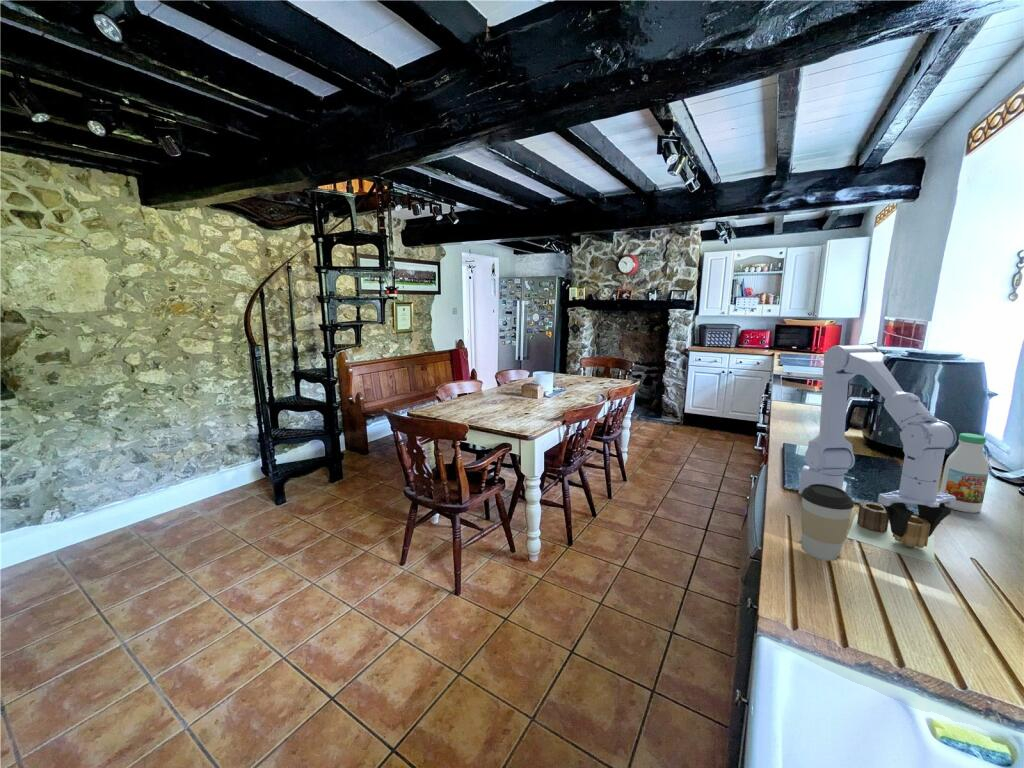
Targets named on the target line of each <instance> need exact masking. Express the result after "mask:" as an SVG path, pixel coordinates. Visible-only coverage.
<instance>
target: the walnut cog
mask: <svg viewBox="0 0 1024 768" xmlns="http://www.w3.org/2000/svg"><path fill="white" fill-rule="evenodd" d="M857 523H858V524H859V526H860V527H862V528H865V529H868V530H870V531H876V532H880V533H883V532H884V531H887V528H888V523H890V521H889V517H888V515H887V512H886V510H885V508H884V506H883V505H882V504H880V503H875V502H868V501H863V502H860V503H859V507H858V520H857Z"/></svg>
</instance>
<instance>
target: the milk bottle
mask: <svg viewBox="0 0 1024 768" xmlns="http://www.w3.org/2000/svg"><path fill="white" fill-rule="evenodd" d="M986 442H987V438H986V437H985V436H983V435H981V434H976V433H969V432H962V433H960V434H958V446H957V447H956V448H955V450H953V452H952V453H950V455H949V456H948V457H947V459H946V461H945V464H944V469H943V475H942V479H941V483H940V484H941V485H940V489H939V493H947V494H950V495H952V496H954V497H956V501H955V505H948V504H945V507H947V508H950V509H951V510H955V511H959V512H964V513H971V514H973V513H976V514H977V513H980V511H981V510H982V507H983V503H984V498H985V495H986V493H985V492H986V489H987V484H988V478H989V472H990V470H989V469H990V467H989V463H988V462H989V461H988V460H987V457H986V455H985V453H984V446H986V445H985V444H986Z"/></svg>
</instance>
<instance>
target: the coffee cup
mask: <svg viewBox="0 0 1024 768" xmlns="http://www.w3.org/2000/svg"><path fill="white" fill-rule="evenodd" d="M800 495H801V497H802V498H801V499H802V500H801V503H800V504H801V505H800V506H801V507H800V515H801V517H800V522H801V523H800V528H801V529H800V530H801V549H802V550H803V552H804V553H806V554H808V555H809V556H811V557H813V558H815V559H817V560H823V561H831V562H833V561H838V560H839V559H840V554H841V552H842V547H843V544H844V542H845V540H846V539H845V538H846V537H847V533H848V528H849V525H850V522H851V514H852V513H851V512H852V509H853V508H854V506H855V505H854V503H853V499H852V498H851V497H850V496H849V495H848V493H847V491H845V490H843V488H842V489H839V488H837V487H834V486H830V485H825V484H812V485H809V486H808V487H806V488H804V489H803V492H802V493H801V494H800Z"/></svg>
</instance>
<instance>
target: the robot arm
mask: <svg viewBox="0 0 1024 768" xmlns="http://www.w3.org/2000/svg"><path fill="white" fill-rule="evenodd" d="M857 375H861V376H863V377H865V379H866V380H867V381H868V382H869V383H870V384H871V385H872V386H873V387H874V388H875V389H876V390H877V392H878V393H880V395H881V396H882V397H883V398H884V399H885V400H884V403H883V407H884V409H885V410H886V412H887V413H889V415H890V417H891V418H892V419H893V420H894V422H895V423H896V424H897V425H898V427H899V428H900V429H901V431H899V438H900V441H901V443H902V445H903V448H902V452H903V453H904V457H903V458H904V459H903V463H902V464H903V465H902V470H901V471H902V472H901V478H900V483H899V489H898V490H895V491H893V490H892V491H889V492H885V493H879V494H878V498H877V502H878V504H880V505H882V506H884V508H885V510H886V512H887V515H888V517H889V523H890V526H891V532H892V533H894V534H895V535H897V536H899V537H903V535H904V533H905V530H906V526H907V523H908V521H909V519H910V517H911V516H912V515H914V514H915V512H914V511H913V510H910V509H908V507H907V506H906V505H917V510H918V517H919V518H921V519H925V520H927V521H928V523H930V524H931V526H930V532H929V537H930V536H931V534H933V533H934V531H935V530H936V528H937V526H938V525H939V524H940V523H941V521H943V520H944V519H945V518H946V517H948V516H950V515H951V513H952V509H951V508H949V507H946V506H945V504H948V505H955V501H956V497H954V496H952V495H950V494H947V493H940V492H939V485H940V481H941V480H940V479H941V476H942V470H943V464H944V459H945V454H946V449H947V450H948V449H950V448H951V447H954V445H955V443H956V441H957V433H956V431H955V429H954V427H953V426H952V424H950V423H949V422H947V421H943V420H940V419H939V418H937V417H935V416H934V415H933V414H932V413H931V412H930V411H929V410H928V408H926V406H925V405H924V404H923V403H922V402H921V398H920V397H919V396H918V395H915V394H914V393H911V392H907V391H906V392H905V391H904V390H903V389H902V387H901V386H900V384H899V383H898V382H897V380H896V379H895V377H894V376H893V374H892V372H890V371H889V369H888V367H887V366H886V365H885V355H884V353H882V352H881V351H880V348H878V347H877V346H876V345H874V344H866V345H862V344H861V345H833V346H831V347H830V348H828V349H827V350H826V351H825V352H824V353H823V366H822V383H821V384H822V386H821V403H820V419H819V434H818V435H817V436H815V437H814V438H812V439H810V440H809V441H808V445H807V449H806V451H805V454H804V460H805V462H806V464H807V465H806V464H805V465H803V466H802V468H801V471H800V477H799V485H798V494H799V495H801V493H802V492H803V489H804V488H806V487H808V486H809V485H812V484H825V485H830V486H834V487H837V488H839V489H842V490H843V487H844V479H845V474H848V471H849V470H850V469H852V468H853V467H854V465H855V461H856V458H855V455H854V452H853V446H854V445H853V444H852V443H851V442H850V441H849V440H847V439H846V438H845V436H846V435H845V434H846V423H847V422H846V420H847V419H846V418H847V408H848V407H847V405H848V403H847V402H848V391H849V390H848V388H849V381H850V380H851V379H852V378H854V377H855V376H857Z"/></svg>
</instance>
